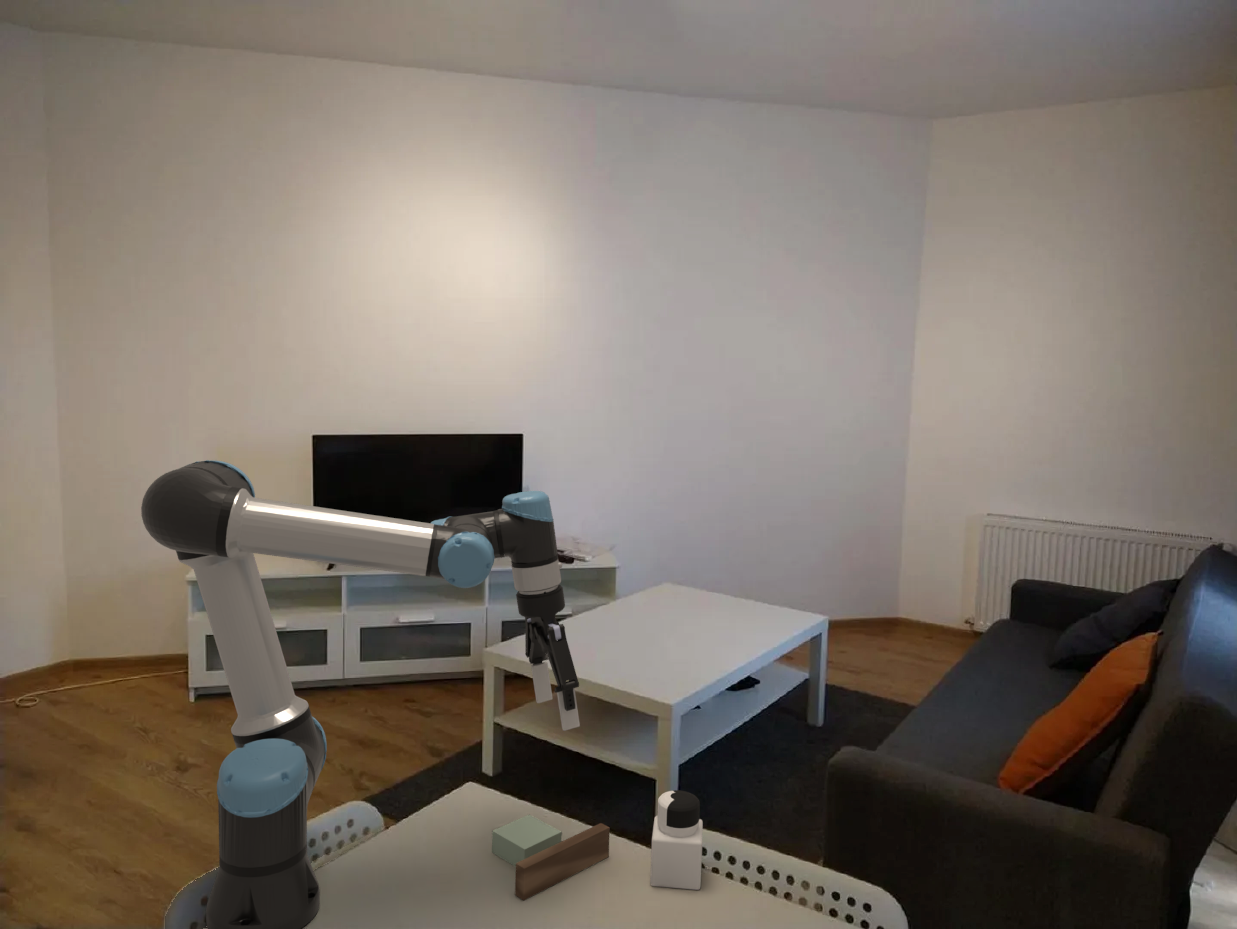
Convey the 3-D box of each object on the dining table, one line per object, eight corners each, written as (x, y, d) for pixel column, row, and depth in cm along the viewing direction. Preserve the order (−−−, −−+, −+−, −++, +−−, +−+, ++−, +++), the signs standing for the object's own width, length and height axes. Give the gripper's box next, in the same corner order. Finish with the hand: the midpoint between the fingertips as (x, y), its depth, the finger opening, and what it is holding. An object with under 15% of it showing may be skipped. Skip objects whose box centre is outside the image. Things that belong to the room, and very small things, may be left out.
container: (700, 864, 146) (704, 787, 144) (700, 891, 138) (703, 810, 137) (652, 860, 147) (655, 783, 145) (649, 887, 139) (652, 806, 138)
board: (515, 895, 136) (515, 863, 135) (600, 852, 148) (601, 823, 148) (523, 900, 134) (524, 868, 134) (608, 856, 147) (609, 827, 147)
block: (491, 854, 147) (492, 830, 147) (528, 837, 153) (529, 814, 153) (524, 873, 142) (524, 849, 142) (561, 855, 148) (561, 831, 147)
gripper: (587, 598, 134) (606, 733, 137) (537, 569, 157) (554, 685, 160) (540, 610, 131) (560, 747, 134) (496, 578, 154) (514, 696, 157)
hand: (557, 714), depth 147 cm, fingers open, 13 cm apart
